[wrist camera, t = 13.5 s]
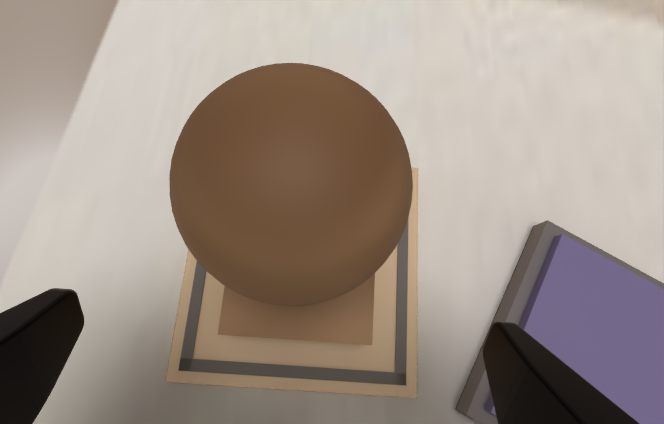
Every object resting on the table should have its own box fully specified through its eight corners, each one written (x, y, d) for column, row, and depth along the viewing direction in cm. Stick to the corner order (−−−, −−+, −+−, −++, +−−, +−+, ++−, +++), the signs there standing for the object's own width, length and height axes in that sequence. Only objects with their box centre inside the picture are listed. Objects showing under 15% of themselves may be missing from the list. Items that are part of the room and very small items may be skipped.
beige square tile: (413, 395, 17) (417, 398, 17) (170, 379, 17) (164, 382, 16) (415, 172, 20) (418, 167, 20) (209, 154, 20) (205, 148, 19)
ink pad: (617, 506, 17) (653, 528, 15) (455, 409, 17) (471, 418, 16) (676, 304, 19) (713, 302, 18) (533, 226, 20) (555, 217, 18)
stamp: (363, 341, 17) (549, 420, 4) (230, 332, 17) (-50, 382, 4) (368, 215, 19) (513, -33, 6) (248, 205, 19) (97, -79, 5)
